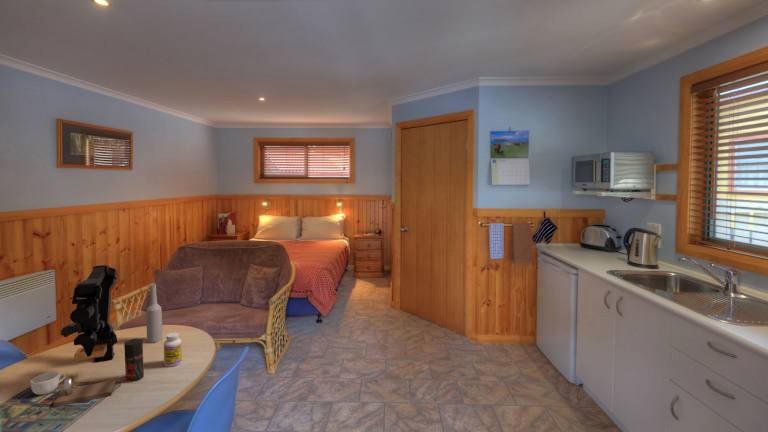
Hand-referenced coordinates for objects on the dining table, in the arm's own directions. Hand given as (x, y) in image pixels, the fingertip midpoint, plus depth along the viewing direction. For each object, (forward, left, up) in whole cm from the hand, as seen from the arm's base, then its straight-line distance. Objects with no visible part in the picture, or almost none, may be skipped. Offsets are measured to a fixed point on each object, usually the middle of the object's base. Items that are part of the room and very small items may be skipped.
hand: (91, 352), depth 144 cm
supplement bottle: (-28, +1, -10) cm, 30 cm away
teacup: (+12, +4, -10) cm, 16 cm away
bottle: (-19, -29, -10) cm, 36 cm away
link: (0, 0, -1) cm, 1 cm away
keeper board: (-1, +14, -10) cm, 17 cm away
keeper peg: (+4, +14, -9) cm, 17 cm away
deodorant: (-15, +8, -10) cm, 20 cm away
